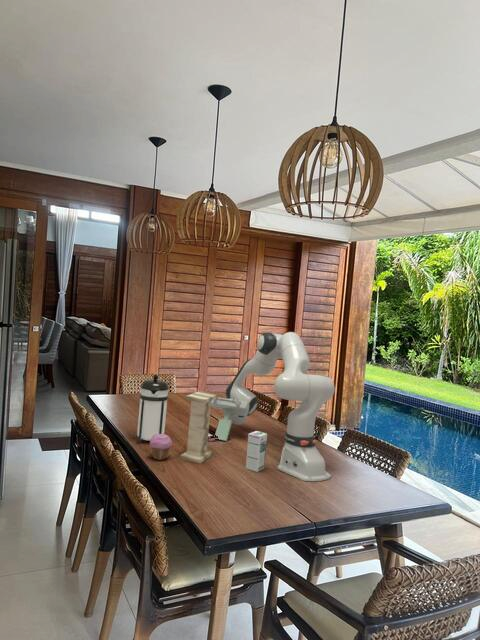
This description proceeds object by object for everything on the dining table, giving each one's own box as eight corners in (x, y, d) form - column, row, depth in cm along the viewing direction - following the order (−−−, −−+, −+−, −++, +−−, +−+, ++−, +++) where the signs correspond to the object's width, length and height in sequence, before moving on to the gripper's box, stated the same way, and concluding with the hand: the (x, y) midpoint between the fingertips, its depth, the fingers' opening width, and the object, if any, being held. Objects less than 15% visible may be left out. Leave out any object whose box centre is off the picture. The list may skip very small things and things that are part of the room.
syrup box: (257, 472, 191) (261, 436, 190) (245, 468, 194) (248, 432, 193) (264, 468, 196) (268, 433, 195) (252, 465, 199) (255, 430, 198)
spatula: (226, 398, 241) (226, 397, 239) (238, 400, 239) (237, 399, 237) (214, 439, 230) (214, 438, 229) (226, 441, 228) (225, 440, 227)
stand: (193, 450, 210) (198, 391, 209) (212, 454, 207) (217, 394, 206) (179, 459, 198) (185, 396, 197) (199, 463, 195) (205, 399, 194)
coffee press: (175, 442, 220) (181, 376, 219) (146, 447, 208) (152, 378, 207) (152, 432, 232) (157, 370, 230) (123, 437, 220) (129, 371, 219)
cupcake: (160, 463, 190) (162, 438, 190) (143, 458, 195) (146, 433, 194) (174, 458, 198) (176, 434, 197) (158, 453, 202) (160, 429, 202)
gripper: (214, 399, 245) (206, 389, 233) (252, 405, 238) (246, 395, 226) (210, 411, 242) (202, 401, 230) (249, 418, 235) (243, 408, 224)
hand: (224, 398), depth 228 cm, fingers open, 8 cm apart
